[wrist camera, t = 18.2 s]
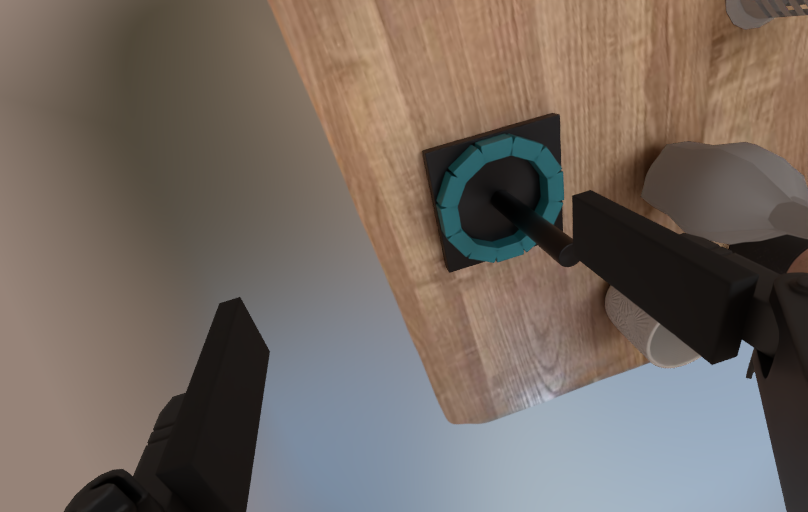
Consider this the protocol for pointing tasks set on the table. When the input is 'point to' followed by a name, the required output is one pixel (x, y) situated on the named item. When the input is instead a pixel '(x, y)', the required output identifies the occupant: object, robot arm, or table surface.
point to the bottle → (728, 192)
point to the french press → (761, 11)
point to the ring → (475, 161)
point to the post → (501, 194)
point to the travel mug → (776, 253)
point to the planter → (647, 333)
